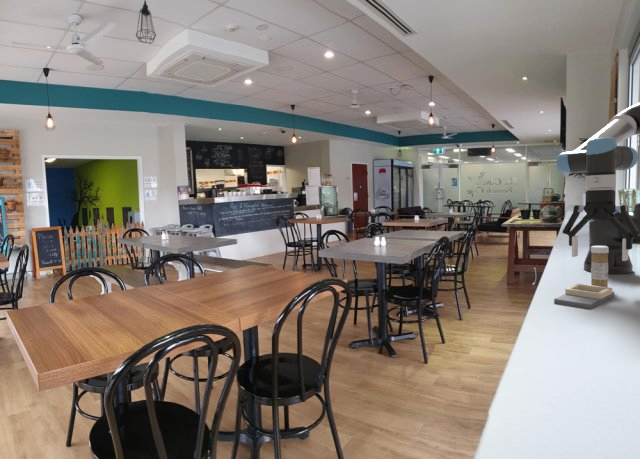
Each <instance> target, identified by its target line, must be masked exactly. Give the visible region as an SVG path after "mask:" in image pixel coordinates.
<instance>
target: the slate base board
mask: <svg viewBox="0 0 640 459" xmlns="http://www.w3.org/2000/svg"><path fill="white" fill-rule="evenodd" d="M564 291H565V293H564V294H562V295H560V296H557V297H555V298H553V303H554V304H556V305H557V304H558V305H564V306H569V307H576V308H581V309H587V310H591V309H593V308H595V307H597V306H599V305H601V304H602V303H604V302H606V301H608V300H610V299H612V298H614V296H615V292H614V291H613V287H601V286H593V285H591V284H584V283H583V284H582V283H576V284H574V285H572V286H569V287H567V288H565V290H564Z"/></svg>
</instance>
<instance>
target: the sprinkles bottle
mask: <svg viewBox="0 0 640 459" xmlns="http://www.w3.org/2000/svg"><path fill="white" fill-rule="evenodd" d="M591 252H592V253H591V254H592V260H591V271H590V278H591V279H590V280H591V281H590V285H593V286H601V287H608V284H609V282H608V281H609V280H608V279H609V273H608V252H609V248H608V247H607V246H591Z"/></svg>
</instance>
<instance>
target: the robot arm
mask: <svg viewBox="0 0 640 459" xmlns="http://www.w3.org/2000/svg"><path fill="white" fill-rule="evenodd" d="M635 135H640V102H637V103H635V104H632V105H630V106H629V107H627V108H625V109H623V110H621V111H620V112H618V113H617V114H615V115H614V116H613V117H611V118H610V120H609V121H608V123H607V125H606V126H604V127H602V128H601V129H600V130H598V131H597V132H596V133H595V134H593V135H592V136H591V137H589V138H588V139H587V140H586V141H585V142H583V143H581V144H580V145H579V146H578V147H576V148H575V149H573V150H570V151H569V150H568V151H563V152H561V153H559V154H558V156H557V157H556V158H557V159H556V168H557V170H558V171H559V172H560V173H561V174H571V175H572V174H580V173H585V189H586V191H585V199H584V200H585V202H584V203H585V205H583V206H582V205H580V204H579V205H574V206H573V210H572V211H573V212H572V214H571V216H570V217H569V218H568V221H567V222H566V225H565V226H564V228H563V229H562V234H564V235H567V236H568V245H569V246H570V247H571V257H573V258H575V257H578V256H579V252H578V251H579V236H578V235H576V234H578V233H579V232H580V231H581V230H582V228H584V226H586V224H587V223H588V229H589V230H588V231H589V232H588V235H589V236H588V237H589V240H588V242H589V243H588V245H589V246H588V247H589V248H588V252H587V253H586V257H585V258H584V259H585V260H584V262H583V270H585V271H588V272H591V260H592V254H591V253H592V252H591V246H607V247H608V248H609V252H608V274H615V275H616V274H619V275H620V274H628V273H629V272H630V273H633V267H634V266H633V263H632V260H631V257H630V255H629V251H630V250H633V245H640V201H638V202H637V203H635V204H634V207H633V210H632V211H631V210H630V211H629V207H628V205H627V204H622V205H617V206H616V190H615V189H614V188H616V171H626V170H630V169H632V168H634V167H635V166H636V164H637V163H638V161H639V154H638V151H637V150H636V149H635V148H633V147H631V146H627V145H619V143H621V142H623V140H627V139H629V138H632V136H635ZM583 211H584V212H585V215H584V216H583V217H582V219H581V220H580V221H579V222H578V223H577V224H576V225H575V223H576V221H577V220H578V218H579V216H580V214H581V213H583ZM574 225H575V226H574ZM573 226H574V227H573Z"/></svg>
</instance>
